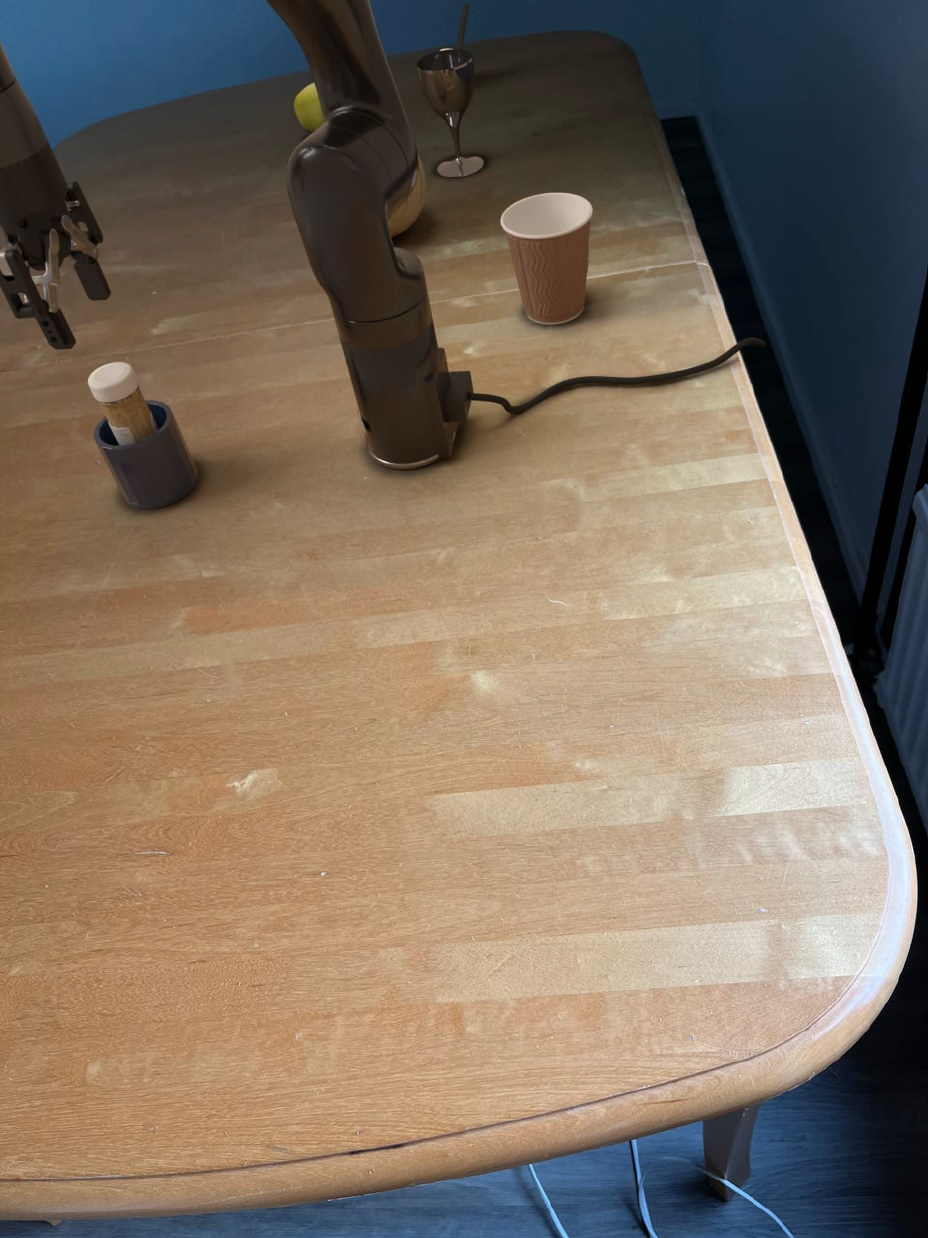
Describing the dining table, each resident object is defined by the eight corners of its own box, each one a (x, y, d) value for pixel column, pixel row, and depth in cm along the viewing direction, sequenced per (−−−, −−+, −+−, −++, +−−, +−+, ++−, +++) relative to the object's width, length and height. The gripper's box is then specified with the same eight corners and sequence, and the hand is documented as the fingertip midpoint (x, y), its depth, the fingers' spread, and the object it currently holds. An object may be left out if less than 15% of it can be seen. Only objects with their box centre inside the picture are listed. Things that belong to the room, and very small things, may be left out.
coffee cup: (615, 300, 122) (611, 202, 113) (561, 342, 118) (552, 244, 109) (549, 279, 128) (540, 184, 119) (494, 318, 123) (481, 223, 114)
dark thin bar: (428, 101, 174) (415, 23, 165) (424, 88, 178) (411, 11, 169) (482, 89, 173) (473, 11, 165) (477, 76, 178) (467, 0, 169)
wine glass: (496, 157, 154) (483, 50, 143) (468, 180, 150) (452, 72, 139) (452, 152, 158) (436, 47, 147) (424, 175, 154) (405, 68, 143)
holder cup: (207, 459, 112) (182, 398, 106) (183, 508, 107) (155, 447, 101) (139, 460, 114) (111, 401, 108) (112, 509, 109) (81, 450, 103)
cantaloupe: (373, 272, 135) (347, 159, 125) (310, 243, 144) (281, 134, 133) (456, 226, 141) (438, 114, 130) (391, 200, 149) (369, 93, 139)
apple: (353, 138, 167) (342, 87, 161) (299, 146, 168) (286, 96, 162) (357, 119, 172) (346, 69, 167) (305, 127, 174) (292, 77, 168)
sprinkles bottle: (185, 479, 109) (138, 372, 100) (146, 498, 108) (94, 392, 98) (170, 459, 112) (122, 354, 102) (132, 478, 111) (80, 373, 101)
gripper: (2, 182, 79) (91, 362, 90) (75, 107, 88) (146, 280, 100) (-82, 191, 80) (16, 367, 92) (-2, 117, 90) (78, 285, 101)
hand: (84, 321), depth 96 cm, fingers open, 8 cm apart
